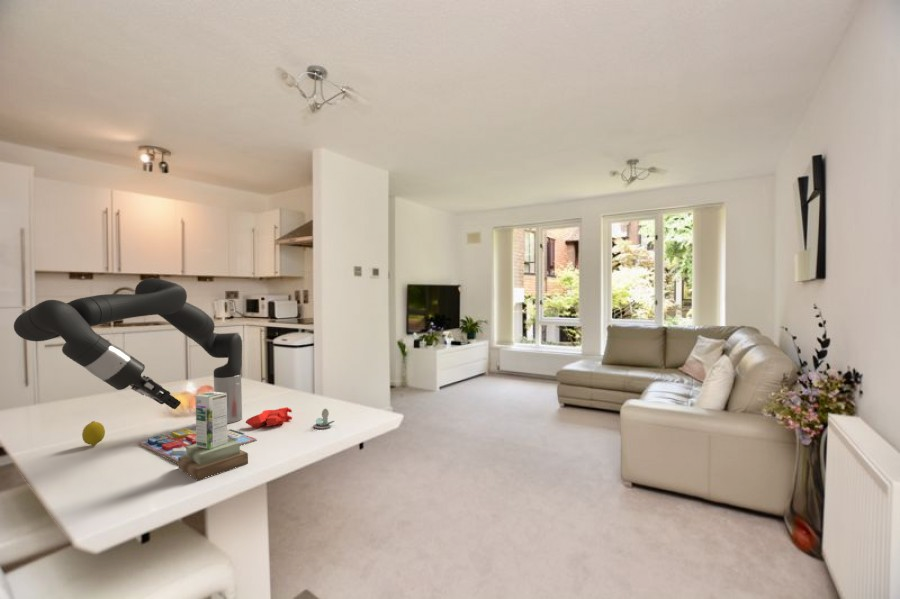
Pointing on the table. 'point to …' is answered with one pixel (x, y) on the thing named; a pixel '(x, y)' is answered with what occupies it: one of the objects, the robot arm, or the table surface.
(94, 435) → the lemon
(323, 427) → the pacifier
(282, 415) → the animal figurine
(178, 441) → the puzzle board
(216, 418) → the syrup box
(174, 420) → the table surface
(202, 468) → the plinth
